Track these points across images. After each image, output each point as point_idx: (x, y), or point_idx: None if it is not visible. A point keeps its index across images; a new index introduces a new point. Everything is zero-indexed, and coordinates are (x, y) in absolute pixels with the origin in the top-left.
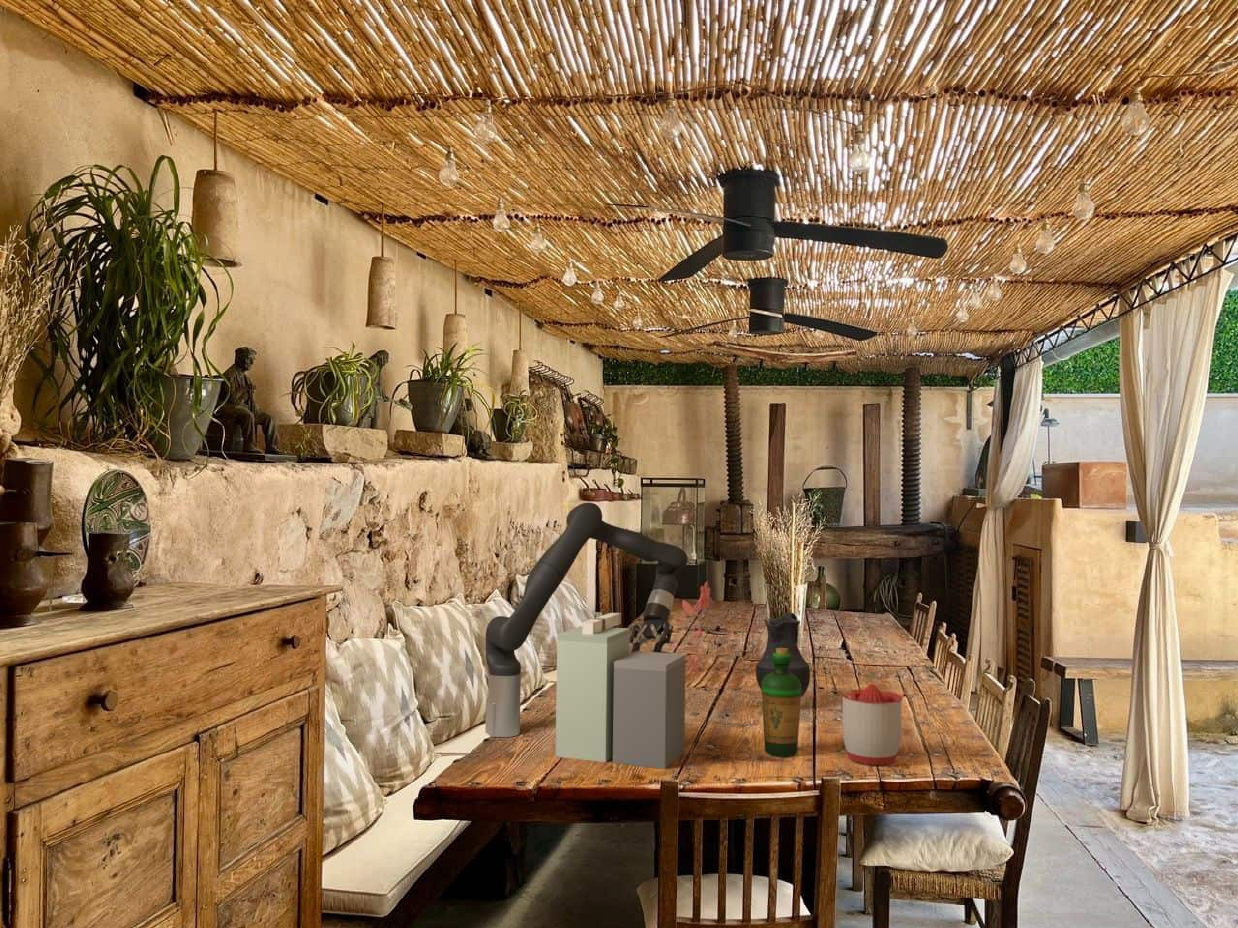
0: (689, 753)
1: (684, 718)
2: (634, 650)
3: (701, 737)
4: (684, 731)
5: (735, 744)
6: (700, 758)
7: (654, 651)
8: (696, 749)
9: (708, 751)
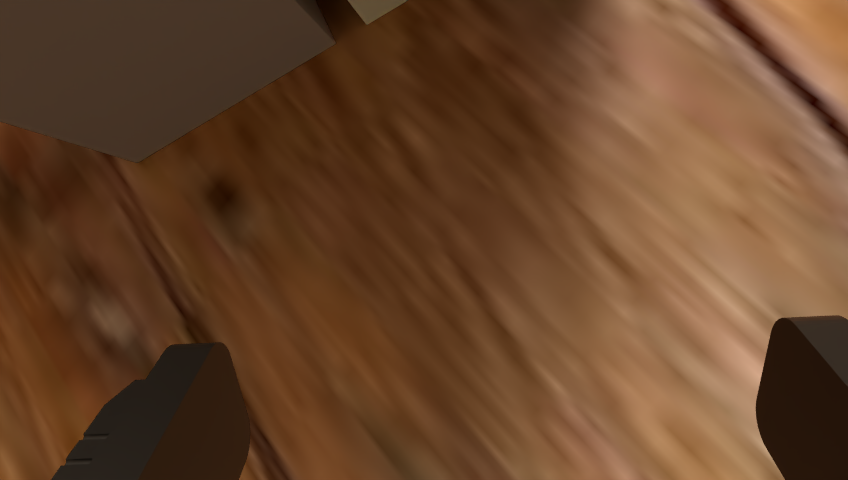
0: (104, 155)
1: (1, 118)
2: (839, 402)
3: None
4: (64, 139)
5: (55, 430)
6: (37, 136)
7: (161, 365)
8: (120, 226)
9: (71, 242)
